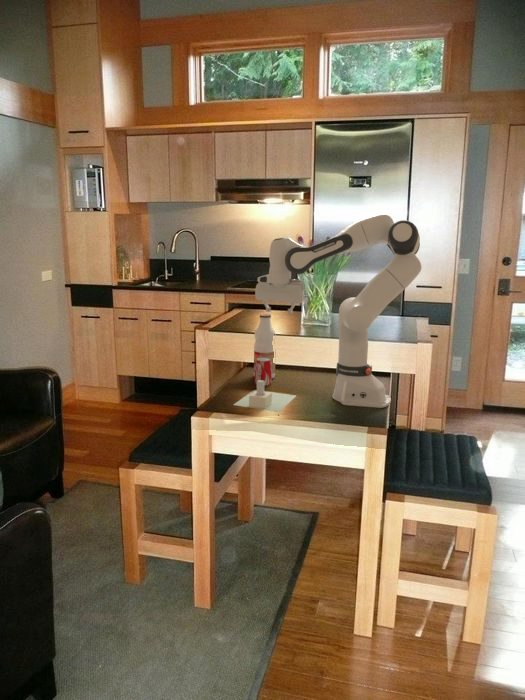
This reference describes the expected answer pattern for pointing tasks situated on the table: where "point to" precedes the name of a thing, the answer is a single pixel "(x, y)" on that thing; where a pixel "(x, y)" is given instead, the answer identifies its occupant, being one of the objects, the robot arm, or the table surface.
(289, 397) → the post board
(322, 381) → the table surface
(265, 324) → the fruit juice
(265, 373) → the soda can
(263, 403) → the square collar
